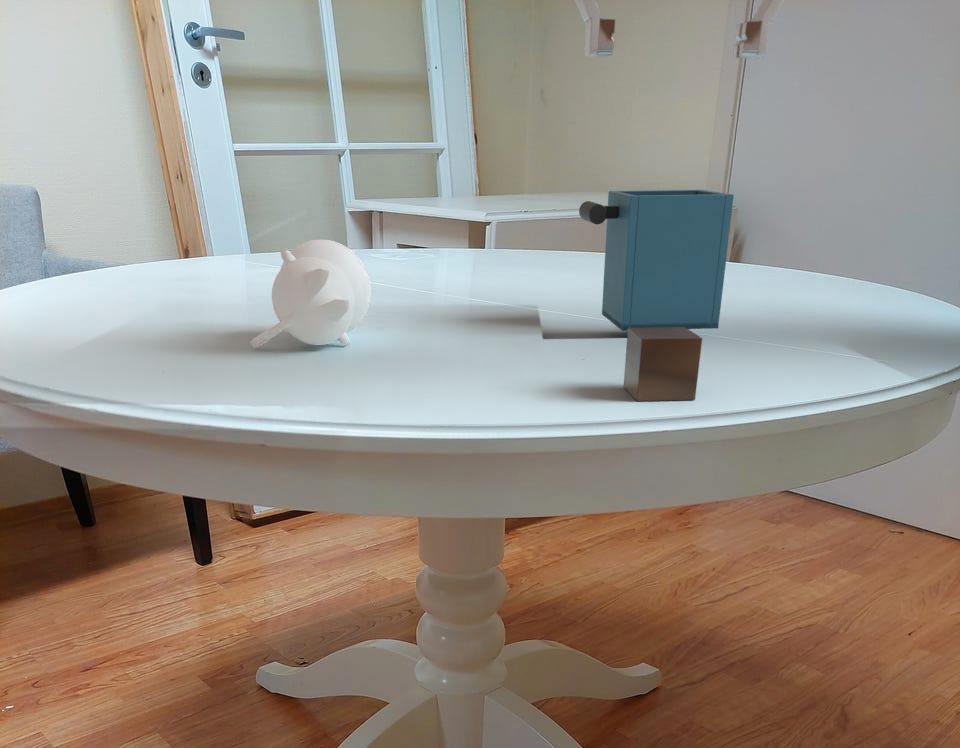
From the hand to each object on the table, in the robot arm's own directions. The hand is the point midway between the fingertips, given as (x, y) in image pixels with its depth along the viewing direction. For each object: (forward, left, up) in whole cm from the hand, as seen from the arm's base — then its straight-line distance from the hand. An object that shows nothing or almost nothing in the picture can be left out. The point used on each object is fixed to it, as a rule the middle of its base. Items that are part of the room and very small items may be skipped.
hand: (674, 57), depth 54 cm
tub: (-6, -23, -20) cm, 31 cm away
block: (0, +4, -20) cm, 20 cm away
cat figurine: (+25, -16, -20) cm, 36 cm away
